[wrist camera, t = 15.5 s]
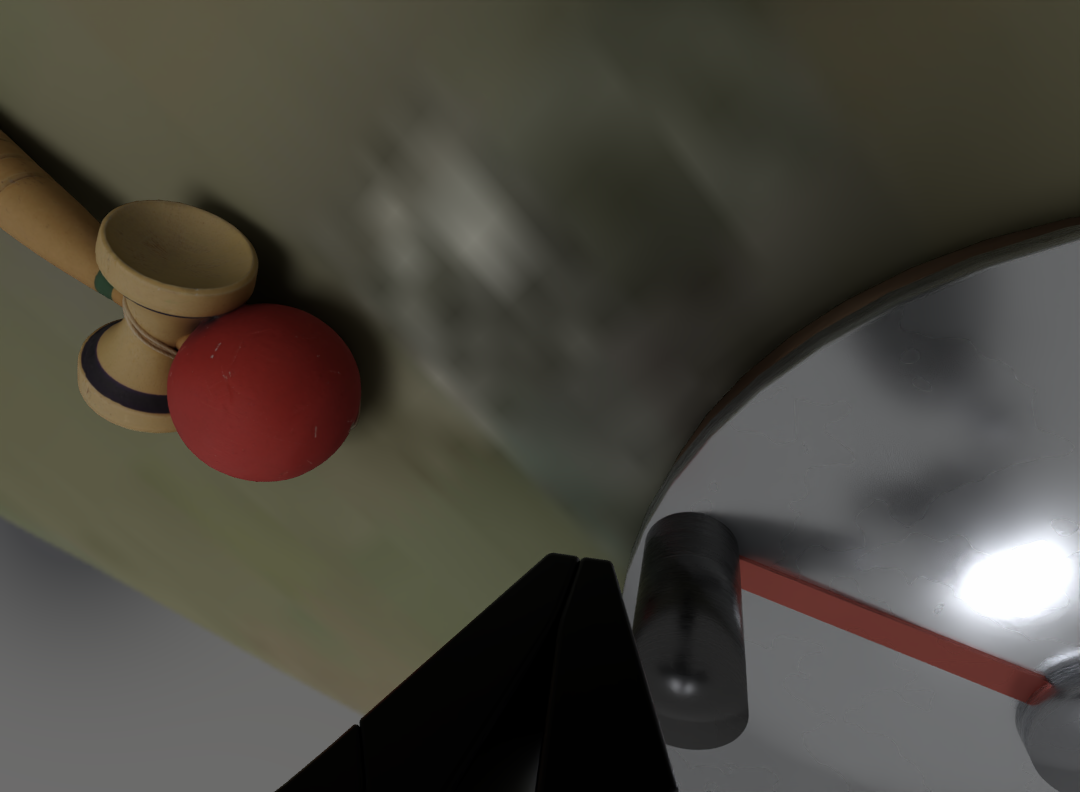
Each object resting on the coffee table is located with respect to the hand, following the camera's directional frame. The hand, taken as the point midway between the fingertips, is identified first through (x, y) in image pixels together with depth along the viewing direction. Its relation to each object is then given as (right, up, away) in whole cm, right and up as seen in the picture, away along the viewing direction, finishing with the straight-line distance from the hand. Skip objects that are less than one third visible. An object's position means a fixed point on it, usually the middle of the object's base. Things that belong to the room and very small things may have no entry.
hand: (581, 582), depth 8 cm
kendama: (-14, +7, +16) cm, 22 cm away
